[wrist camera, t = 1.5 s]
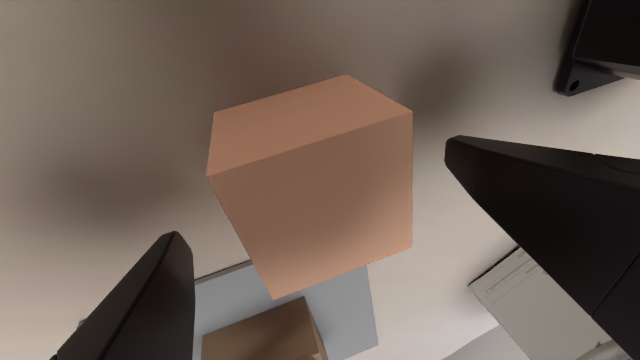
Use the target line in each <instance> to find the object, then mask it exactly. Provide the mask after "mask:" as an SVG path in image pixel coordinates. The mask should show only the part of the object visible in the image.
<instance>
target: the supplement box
mask: <svg viewBox="0 0 640 360" xmlns="http://www.w3.org/2000/svg"><path fill="white" fill-rule="evenodd" d="M469 288H470V290H471V291H472V292H473V293H474V295H475V296H476V297H477V298H478V299H479V301H480V302H481V303H482V304H483V305H484V306H485V308H486V309H487V310H488V311H489V312H490V313H491V315H492V316H493V317H494V318H495V319H496V320H497V322H498V323H499V324H500V325H501V326H502V327H503V328H504V330H505V331H506V332H507V333H508V334H509V335H510V337H511V338H512V339H513V340H514V341H515V342H516V343H517V345H518V346H519V347H520V348H521V349H522V350H523V352H524V353H525V354H526V355H527V356H528V357H529V359H530V360H633V359H632V358H631V357H630V356H629V355H628V354H627V353H626V352H625V351H624V350H623V349H622V348H621V347H620V346H619V345H618V344H617V343H616V342H615V341H614V340H613V339H612V338H611V337H610V336H609V335H608V334H607V333H606V332H605V331H604V330H603V329H602V328H601V327H600V326H599V325H598V324H597V323H596V322H595V321H594V320H593V319H592V318H591V316H589V315H588V314H587V313H586V312H585V311H584V310H583V309H582V308H581V307H580V306H579V305H578V304H577V303H576V302H575V301H574V300H573V299H572V298H571V297H570V296H569V295H568V294H567V293H566V292H565V291H564V290H563V289H562V288H561V287H560V286H559V285H558V284H557V283H556V282H555V281H554V280H553V279H552V278H551V277H550V276H549V275H548V274H547V273H546V272H545V271H544V270H543V269H542V268H541V267H540V266H539V265H538V264H537V263H536V262H535V261H534V260H533V259H532V258H531V257H530V256H529V255H528V254H527V253H526V252H525V251H524V250H523V249H522V248H521V247H520V248H519V249H518V250H516V251H515V252H514V253H513V254H511V255H510V256H509V257H507V258H506V259H505V260H503V261H502V262H501V263H499V264H498V265H497V266H495V267H494V268H493V269H492V270H490V271H489V272H488V273H486V274H485V275H484V276H482V277H481V278H479V279H477V280H476V281H474V282H473V283H471V284H470V286H469Z"/></svg>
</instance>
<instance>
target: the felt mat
mask: <svg viewBox="0 0 640 360" xmlns="http://www.w3.org/2000/svg"><path fill="white" fill-rule="evenodd" d="M194 282H195V300H196V302H195V323H194V340H193V358H192V360H201V350H202V336H203V335H205V334H207V333H210V332H212V331H215V330H218V329H220V328H223V327H225V326H228V325H231V324H233V323H236V322H238V321H241V320H243V319H246V318H249V317H251V316H254V315H256V314H259V313H262V312H264V311H267V310H269V309H272V308H274V307H277V306H280V305H282V304H285V303H287V302H290V301H292V300H295V299H298V298H300V297H303V296H305V299H306V301H307V304H308V306H309V308H310V311H311V313H312V316H313V318H314V321H315V323H316V325H317V328H318V330H319V333H320V335H321V337H322V340H323V343H324V346H325V349H326V353H327V356H328V360H344V359H346V358H349V357H351V356H353V355H356V354H358V353H360V352H363V351H365V350H367V349H370V348H372V347H374V346H377V345H378V339H377V332H376V326H375V319H374V313H373V306H372V300H371V294H370V287H369V281H368V274H367V268H366V265H363V266H361V267H358V268H356V269H353V270H350V271H348V272H345V273H343V274H340V275H337V276H335V277H332V278H330V279H327V280H324V281H322V282H319V283H316V284H314V285H311V286H309V287H306V288H303V289H301V290H298V291H296V292H293V293H290V294H288V295H285V296H283V297H280V298H277V299H275V300H273V299H272V297H271V295H270V294H269V292H268V290H267V288H266V286H265V284H264V283H263V281H262V279H261V277H260V275H259V273H258V272H257V270H256V268H255V266H254V264H253V262H252V261H251V260H250V261H248V262H245V263H242V264H239V265H237V266H234V267H231V268H228V269H226V270H223V271H220V272H217V273H215V274H212V275H209V276H206V277H203V278H201V279H198V280H195V281H194ZM83 322H84V321H82V322H79V325H78V327H79V326H80V325H81V324H82V323H83ZM78 327H77V329H78Z"/></svg>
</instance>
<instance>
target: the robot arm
mask: <svg viewBox="0 0 640 360" xmlns="http://www.w3.org/2000/svg"><path fill="white" fill-rule="evenodd" d="M623 78H631V79H636V80H640V0H584V3H583V6H582V9H581V12H580V16H579V19H578V22H577V25H576V28H575V32H574V35H573V38H572V41H571V44H570V47H569V51H568V54H567V57H566V60H565V63H564V66H563V70H562V73H561V76H560V79H559V82H558V85H557V93H558V94H560V95H564V96H573V95H576V94H579V93H582V92H585V91H588V90H591V89H594V88H597V87H599V86H602V85H605V84H608V83H611V82H614V81H617V80H620V79H623ZM444 161H445V164H446V166H447V168H448V169H449V170H450V171H451V173H452V174H453V175H454V176H455V178H456V179H457V180H458V181H459V183H460V184H461V185H462V186H463V188H464V189H465V190H466V191H467V193H468V194H469V195H470V196H471V197H472V198H473V199H474V201H475V202H476V203H477V204H478V205H479V206H480V207H481V208H482V209H483V210H484V211H485V212H486V213H487V214H488V215H489V216H490V217H491V218H492V219H493V220H494V221H495V222H496V223H497V224H498V225H499V226H500V227H501V228H502V229H503V230H504V231H505V232H506V233H507V234H508V235H509V236H510V237H511V238H512V239H513V240H514V241H515V242H516V243H517V244H518V245H519V246H520V247H521V248H522V249H523V250H524V251H525V252H526V253H527V254H528V255H529V256H530V257H531V258H532V259H533V260H534V261H535V262H536V263H537V264H538V265H539V266H540V267H541V268H542V269H543V270H544V271H545V272H546V273H547V274H548V275H549V276H550V277H551V278H552V279H553V280H554V281H555V282H556V283H557V284H558V285H559V286H560V287H561V288H562V289H563V290H564V291H565V292H566V293H567V294H568V295H569V296H570V297H571V298H572V299H573V300H574V301H575V302H576V303H577V304H578V305H579V306H580V307H581V308H582V309H583V310H584V311H585V312H586V313H587V314H588V315H589V316H591V318H592V319H593V320H594V321H595V322H596V323H597V324H598V325H599V326H600V327H601V328H602V329H603V330H604V331H605V332H606V333H607V334H608V335H609V336H610V337H611V338H612V339H613V340H614V341H615V342H616V343H617V344H618V345H619V346H620V347H621V348H622V349H623V350H624V351H625V352H626V353H627V354H628V355H629V356H630V357H631V358H632V359H633V360H640V160H639V159H631V158H623V157H615V156H608V155H601V154H592V153H586V152H579V151H571V150H564V149H557V148H550V147H542V146H535V145H528V144H521V143H513V142H506V141H499V140H492V139H484V138H477V137H470V136H463V135H458V136H455V137H452V138H449V139H448V140H447V141H446V146H445V158H444ZM195 302H196V300H195V282H194V267H193V254H192V251H191V248H190V247H189V246H188V244H187V243H186V241H185V240H184V239H183V237H182V236H181V234H180V233H179V232H177V231H172V232H169V233H166V234H163V235H162V236H160V237H159V239H158V240H157V241H156V242H155V243H154V244H153V245H152V246H151V247H150V249H149V250H148V251H147V252H146V253H145V254H144V255H143V256H142V257H141V259H140V260H139V261H138V262H137V263H136V264H135V265H134V266H133V267H132V269H131V270H130V271H129V272H128V273H127V274H126V275H125V276H124V277H123V279H122V280H121V281H120V282H119V283H118V284H117V285H116V286H115V287H114V289H113V290H112V291H111V292H110V293H109V294H108V295H107V296H106V297H105V299H104V300H103V301H102V302H101V303H100V304H99V305H98V306H97V307H96V309H95V310H94V311H93V312H92V313H91V314H90V315H89V316H88V317H87V319H86V320H85V321H84V322H83V323H82V324H81V325H80V326H79V327H78V329H77V330H76V331H75V332H74V333H73V334H72V335H71V336H70V337H69V339H68V340H67V341H66V342H65V343H64V344H63V345H62V346H61V347H60V349H59V350H58V351H57V354H55V355H53V356H52V357H51V358H50V360H192V358H193V340H194V323H195Z"/></svg>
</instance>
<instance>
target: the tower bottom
mask: <svg viewBox="0 0 640 360" xmlns="http://www.w3.org/2000/svg"><path fill="white" fill-rule="evenodd" d="M307 353H310V354H311V355H312V356H313V357H314V358H315V359H316V360H328V356H327V353H326V349H325V346H324V343H323V340H322V337H321V335H320V333H319V330H318V328H317V325H316V323H315V321H314V318H313V316H312V313H311V311H310V308H309V306H308V304H307V301H306V299H305V296H303V297H300V298H298V299H295V300H292V301H290V302H287V303H285V304H282V305H280V306H277V307H274V308H272V309H269V310H267V311H264V312H262V313H259V314H256V315H254V316H251V317H249V318H246V319H243V320H241V321H238V322H236V323H233V324H231V325H228V326H225V327H223V328H220V329H218V330H215V331H212V332H210V333H207V334H205V335H203V336H202V350H201V360H295V359H297V358H299V357H301V356H303V355H305V354H307Z"/></svg>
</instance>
